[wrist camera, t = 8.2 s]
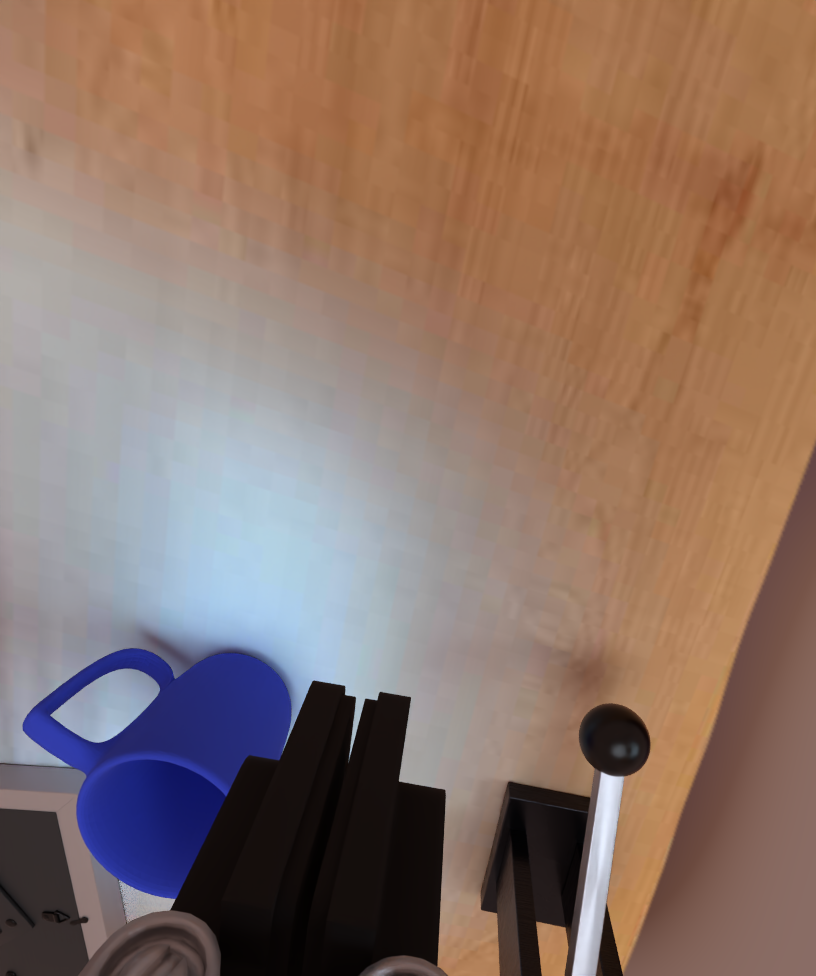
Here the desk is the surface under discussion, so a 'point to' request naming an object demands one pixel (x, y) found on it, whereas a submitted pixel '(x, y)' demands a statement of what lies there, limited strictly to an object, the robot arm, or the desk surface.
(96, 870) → the picture frame
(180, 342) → the desk surface
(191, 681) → the mug
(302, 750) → the robot arm
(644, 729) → the ball knob lever
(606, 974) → the lever bracket
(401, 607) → the desk surface
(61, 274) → the desk surface
